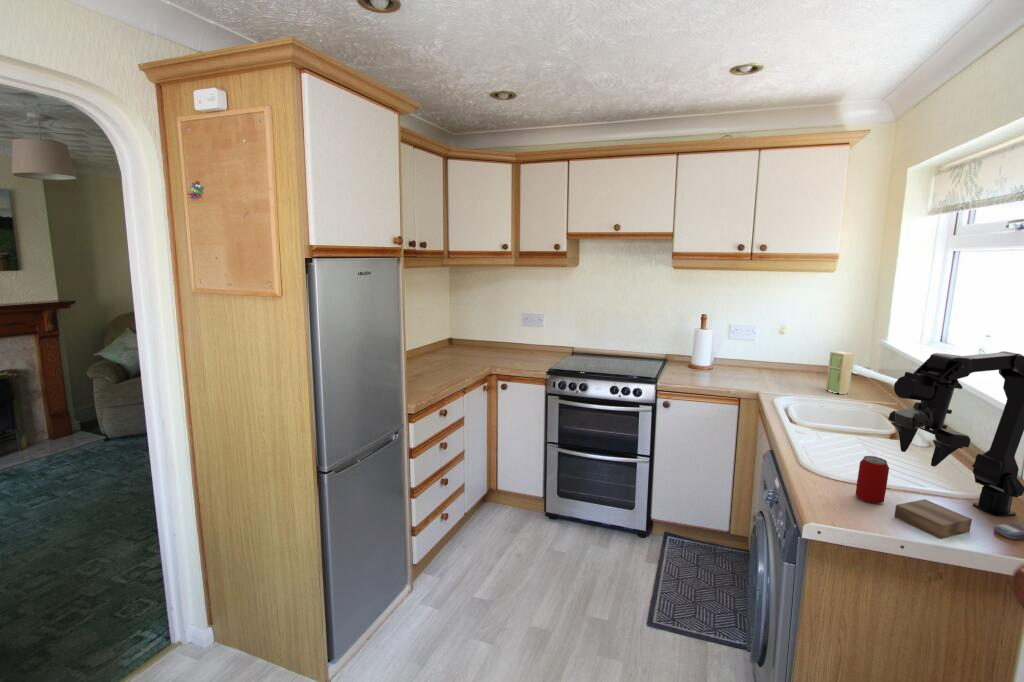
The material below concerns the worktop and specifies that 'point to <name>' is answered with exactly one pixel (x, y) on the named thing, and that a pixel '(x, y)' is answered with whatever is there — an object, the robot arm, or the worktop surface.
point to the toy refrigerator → (839, 371)
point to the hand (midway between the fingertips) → (917, 458)
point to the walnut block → (933, 518)
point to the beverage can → (872, 479)
